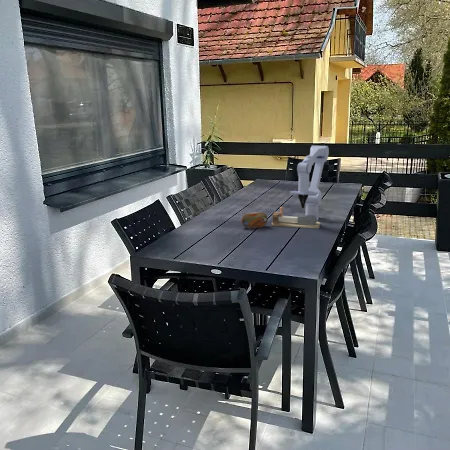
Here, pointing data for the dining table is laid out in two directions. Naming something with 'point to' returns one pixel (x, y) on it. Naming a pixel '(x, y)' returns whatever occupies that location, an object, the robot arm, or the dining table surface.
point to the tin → (254, 220)
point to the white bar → (286, 217)
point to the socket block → (276, 217)
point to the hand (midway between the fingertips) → (302, 207)
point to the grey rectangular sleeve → (306, 219)
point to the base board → (295, 225)
